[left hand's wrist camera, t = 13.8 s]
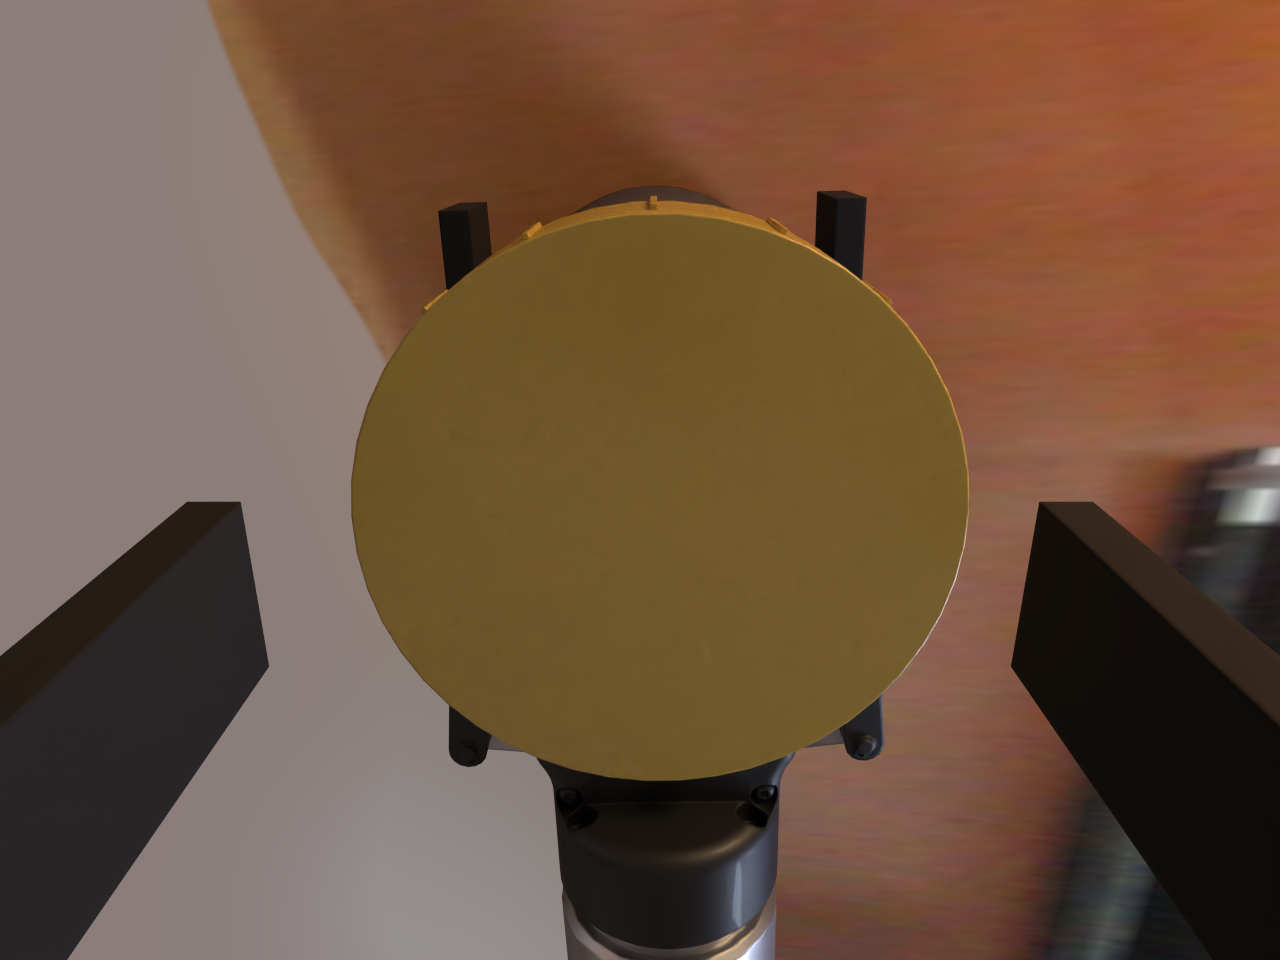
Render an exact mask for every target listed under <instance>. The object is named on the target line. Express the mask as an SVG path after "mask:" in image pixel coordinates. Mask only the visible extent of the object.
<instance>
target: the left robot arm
mask: <svg viewBox="0 0 1280 960" xmlns="http://www.w3.org/2000/svg"><path fill="white" fill-rule="evenodd" d="M268 667H269V663H268V658H267V652H266V646H265V640H264V634H263V629H262V623H261V617H260V611H259V606H258V600H257V594H256V588H255V583H254V577H253V571H252V565H251V559H250V553H249V548H248V542H247V536H246V530H245V524H244V519H243V513H242V507H241V502H186V503H185V504H184V505H183V506H182V507H180V508H179V509H178V510H177V511H176V512H174V513H173V514H172V515H171V516H169V517H168V518H167V519H166V520H165V521H163V522H162V523H161V524H160V525H159V526H157V527H156V528H155V529H154V530H153V531H151V532H150V533H149V534H148V535H146V536H145V537H144V538H143V539H142V540H140V541H139V542H138V543H137V544H136V545H134V546H133V547H132V548H131V549H130V550H128V551H127V552H126V553H125V554H123V555H122V556H121V557H120V558H119V559H117V560H116V561H115V562H114V563H113V564H111V565H110V566H109V567H108V568H107V569H105V570H104V571H103V572H102V573H101V574H99V575H98V576H97V577H96V578H94V579H93V580H92V581H91V582H90V583H88V584H87V585H86V586H85V587H84V588H82V589H81V590H80V591H79V592H77V593H76V594H75V595H74V596H73V597H71V598H70V599H69V600H68V601H67V602H65V603H64V604H63V605H62V606H61V607H59V608H58V609H57V610H56V611H54V612H53V613H52V614H51V615H50V616H48V617H47V618H46V619H45V620H44V621H42V622H41V623H40V624H39V625H37V626H36V627H35V628H34V629H33V630H31V631H30V632H29V633H28V634H27V635H25V636H24V637H23V638H22V639H21V640H19V641H18V642H17V643H16V644H15V645H13V646H12V647H11V648H10V649H8V650H7V651H6V652H5V653H4V654H2V655H1V656H0V960H67V959H68V958H69V956H70V955H71V953H72V952H73V950H74V949H75V947H76V946H77V945H78V943H79V942H80V940H81V939H82V937H83V936H84V934H85V933H86V931H87V930H88V929H89V927H90V926H91V924H92V923H93V921H94V920H95V918H96V917H97V915H98V914H99V913H100V911H101V910H102V908H103V907H104V905H105V904H106V902H107V901H108V899H109V898H110V897H111V895H112V894H113V892H114V891H115V889H116V888H117V886H118V885H119V884H120V882H121V881H122V879H123V878H124V876H125V875H126V873H127V872H128V870H129V869H130V868H131V866H132V865H133V863H134V862H135V860H136V859H137V857H138V856H139V855H140V853H141V852H142V850H143V849H144V847H145V846H146V844H147V843H148V841H149V840H150V839H151V837H152V836H153V834H154V833H155V831H156V830H157V828H158V827H159V825H160V824H161V823H162V821H163V820H164V818H165V817H166V815H167V814H168V812H169V811H170V809H171V808H172V807H173V805H174V804H175V802H176V801H177V799H178V798H179V796H180V795H181V794H182V792H183V791H184V789H185V788H186V786H187V785H188V783H189V782H190V780H191V779H192V778H193V776H194V775H195V773H196V772H197V770H198V769H199V767H200V766H201V764H202V763H203V762H204V760H205V759H206V757H207V756H208V754H209V753H210V751H211V750H212V749H213V747H214V746H215V744H216V743H217V741H218V740H219V738H220V737H221V735H222V734H223V733H224V731H225V730H226V728H227V727H228V725H229V724H230V722H231V721H232V720H233V718H234V717H235V715H236V714H237V712H238V711H239V709H240V708H241V706H242V705H243V704H244V702H245V701H246V699H247V698H248V696H249V695H250V693H251V692H252V690H253V689H254V688H255V686H256V685H257V683H258V682H259V680H260V679H261V677H262V676H263V674H264V673H265V672H266V670H267V669H268ZM1011 667H1012V669H1013V670H1014V672H1015V673H1016V675H1017V676H1018V677H1019V679H1020V680H1021V682H1022V683H1023V685H1024V686H1025V688H1026V689H1027V691H1028V692H1029V693H1030V695H1031V696H1032V698H1033V699H1034V701H1035V702H1036V704H1037V705H1038V706H1039V708H1040V709H1041V711H1042V712H1043V714H1044V715H1045V717H1046V718H1047V720H1048V721H1049V722H1050V724H1051V725H1052V727H1053V728H1054V730H1055V731H1056V733H1057V734H1058V735H1059V737H1060V738H1061V740H1062V741H1063V743H1064V744H1065V746H1066V747H1067V749H1068V750H1069V751H1070V753H1071V754H1072V756H1073V757H1074V759H1075V760H1076V762H1077V763H1078V765H1079V766H1080V767H1081V769H1082V770H1083V772H1084V773H1085V775H1086V776H1087V778H1088V779H1089V780H1090V782H1091V783H1092V785H1093V786H1094V788H1095V789H1096V791H1097V792H1098V794H1099V795H1100V796H1101V798H1102V799H1103V801H1104V802H1105V804H1106V805H1107V807H1108V808H1109V810H1110V811H1111V812H1112V814H1113V815H1114V817H1115V818H1116V820H1117V821H1118V823H1119V824H1120V825H1121V827H1122V828H1123V830H1124V831H1125V833H1126V834H1127V836H1128V837H1129V839H1130V840H1131V841H1132V843H1133V844H1134V846H1135V847H1136V849H1137V850H1138V852H1139V853H1140V855H1141V856H1142V857H1143V859H1144V860H1145V862H1146V863H1147V865H1148V866H1149V868H1150V869H1151V870H1152V872H1153V873H1154V875H1155V876H1156V878H1157V879H1158V881H1159V882H1160V884H1161V885H1162V886H1163V888H1164V889H1165V891H1166V892H1167V894H1168V895H1169V897H1170V898H1171V900H1172V901H1173V902H1174V904H1175V905H1176V907H1177V908H1178V910H1179V911H1180V913H1181V914H1182V915H1183V917H1184V918H1185V920H1186V921H1187V923H1188V924H1189V926H1190V927H1191V929H1192V930H1193V931H1194V933H1195V934H1196V936H1197V937H1198V939H1199V940H1200V942H1201V943H1202V945H1203V946H1204V947H1205V949H1206V950H1207V952H1208V953H1209V955H1210V956H1211V958H1212V959H1213V960H1280V656H1279V655H1278V654H1276V653H1275V652H1274V651H1273V650H1272V649H1270V648H1269V647H1268V646H1267V645H1266V644H1264V643H1263V642H1262V641H1261V640H1259V639H1258V638H1257V637H1256V636H1255V635H1253V634H1252V633H1251V632H1250V631H1249V630H1247V629H1246V628H1245V627H1244V626H1243V625H1241V624H1240V623H1239V622H1238V621H1236V620H1235V619H1234V618H1233V617H1232V616H1230V615H1229V614H1228V613H1227V612H1226V611H1224V610H1223V609H1222V608H1221V607H1220V606H1218V605H1217V604H1216V603H1215V602H1213V601H1212V600H1211V599H1210V598H1209V597H1207V596H1206V595H1205V594H1204V593H1203V592H1201V591H1200V590H1199V589H1198V588H1197V587H1195V586H1194V585H1193V584H1192V583H1190V582H1189V581H1188V580H1187V579H1186V578H1184V577H1183V576H1182V575H1181V574H1180V573H1178V572H1177V571H1176V570H1175V569H1173V568H1172V567H1171V566H1170V565H1169V564H1167V563H1166V562H1165V561H1164V560H1163V559H1161V558H1160V557H1159V556H1158V555H1157V554H1155V553H1154V552H1153V551H1152V550H1150V549H1149V548H1148V547H1147V546H1146V545H1144V544H1143V543H1142V542H1141V541H1140V540H1138V539H1137V538H1136V537H1135V536H1134V535H1132V534H1131V533H1130V532H1129V531H1127V530H1126V529H1125V528H1124V527H1123V526H1121V525H1120V524H1119V523H1118V522H1117V521H1115V520H1114V519H1113V518H1112V517H1111V516H1109V515H1108V514H1107V513H1106V512H1104V511H1103V510H1102V509H1101V508H1100V507H1098V506H1097V505H1096V504H1095V503H1094V502H1039V507H1038V513H1037V519H1036V524H1035V530H1034V536H1033V542H1032V548H1031V553H1030V559H1029V565H1028V571H1027V577H1026V582H1025V588H1024V594H1023V600H1022V605H1021V611H1020V617H1019V623H1018V629H1017V634H1016V640H1015V646H1014V652H1013V658H1012V663H1011Z"/></svg>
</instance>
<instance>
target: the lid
mask: <svg viewBox="0 0 1280 960" xmlns="http://www.w3.org/2000/svg"><path fill="white" fill-rule="evenodd" d="M892 303H893V302H892V301H891V300H890V299H889V298H888V297H886V296H885V295H884V294H882V293H881V292H879V291H878V290H877V289H875V288H874V287H872V286H871V285H870V284H868V283H867V282H865V281H864V282H863V281H862V280H860V279H859V278H858V277H856V276H855V275H854V274H853V273H851V272H850V271H849V270H848V269H846V268H845V267H844V266H842V265H841V264H839V263H838V262H837V261H835V260H834V259H832V258H831V257H830V256H828V255H827V254H825V253H824V252H823V251H821V250H820V249H818V248H817V247H815V246H813V245H811V244H810V243H808V242H806V241H805V240H803V239H801V238H800V237H798V236H796V235H794V234H793V233H791V232H789V231H788V229H787V228H785V227H784V226H783V225H781V224H780V223H779V222H777V221H776V220H775V219H773V218H771V217H768V218H767V220H766V221H764V220H761V219H759V218H756V217H754V216H752V215H748V214H745V213H741V212H737V211H733V210H729V209H725V208H721V207H717V206H713V205H706V204H697V203H689V202H680V201H657V196H650V201H637V202H628V203H622V204H615V205H609V206H603V207H597V208H593V209H589V210H586V211H583V212H579V213H576V214H573V215H570V216H566V217H563V218H560V219H557V220H555V221H552V222H550V223H548V224H546V225H544V226H542V225H541V223H540V222H538V223H535V224H534V225H533V226H531V227H530V228H529V229H528V230H527V231H525V232H524V233H523V234H522V235H521V237H519V238H518V239H516V240H514V241H513V242H511V243H510V244H508V245H507V246H505V247H504V248H502V249H500V250H499V251H497V252H496V253H494V254H493V255H491V256H490V257H488V258H487V259H486V260H485V261H483V262H482V263H481V264H480V265H478V266H477V267H476V268H475V269H473V270H472V271H471V272H470V273H468V274H467V275H466V276H465V277H463V278H462V279H461V280H460V281H459V282H458V283H456V284H455V285H454V286H453V287H452V288H451V289H449V290H445V291H444V292H443V293H442V294H440V295H439V296H438V297H437V298H435V299H434V300H433V301H431V302H430V303H429V304H428V305H426V306H425V307H424V308H423V309H422V310H421V311H420V312H421V313H422V314H423V316H422V317H421V318H420V319H419V320H418V322H417V323H416V324H415V325H414V326H413V327H412V328H411V330H410V331H409V332H408V333H407V334H406V335H405V337H404V339H403V340H402V342H401V343H400V345H399V346H398V348H397V349H396V351H395V353H394V354H393V356H392V357H391V359H390V360H389V362H388V363H387V365H386V366H385V368H384V370H383V372H382V374H381V376H380V379H379V381H378V383H377V385H376V387H375V390H374V392H373V394H372V396H371V398H370V401H369V403H368V405H367V408H366V412H365V415H364V419H363V422H362V425H361V429H360V432H359V436H358V439H357V443H356V450H355V457H354V465H353V472H352V479H351V495H352V498H351V499H352V523H353V530H354V537H355V543H356V550H357V555H358V558H359V562H360V565H361V569H362V572H363V576H364V579H365V582H366V586H367V589H368V591H369V594H370V596H371V598H372V600H373V602H374V605H375V607H376V609H377V611H378V614H379V616H380V618H381V620H382V622H383V624H384V626H385V627H386V629H387V631H388V632H389V634H390V635H391V637H392V639H393V640H394V642H395V644H396V645H397V647H398V648H399V650H400V652H401V653H402V654H403V656H404V657H405V658H406V659H407V660H408V662H409V663H410V664H411V665H412V667H413V668H414V669H415V670H416V672H417V673H418V674H419V675H420V677H421V678H422V679H423V680H424V681H425V682H426V683H427V684H428V685H429V686H430V687H431V688H432V689H433V690H434V691H435V692H436V693H437V694H438V695H439V696H440V697H441V698H442V699H443V700H444V701H445V702H447V703H448V704H449V705H450V706H451V707H452V708H454V709H455V710H456V711H458V712H459V713H460V714H462V715H463V716H464V717H466V718H467V719H468V720H470V721H471V722H472V723H473V724H475V725H476V726H477V727H479V728H481V729H483V730H484V731H486V732H488V733H489V734H491V735H493V736H494V737H496V738H498V739H499V740H501V741H503V742H504V743H506V744H508V745H510V746H512V747H515V748H517V749H519V750H521V751H523V752H526V753H528V754H530V755H532V756H535V757H537V758H539V759H542V760H545V761H548V762H551V763H554V764H557V765H560V766H563V767H566V768H570V769H573V770H577V771H581V772H586V773H591V774H596V775H601V776H606V777H612V778H622V779H633V780H643V781H662V780H688V779H696V778H705V777H713V776H719V775H723V774H728V773H732V772H737V771H741V770H745V769H750V768H753V767H756V766H759V765H762V764H765V763H768V762H771V761H773V760H776V759H779V758H782V757H785V756H787V755H789V754H791V753H794V752H796V751H798V750H800V749H802V748H804V747H806V746H808V745H810V744H812V743H815V742H817V741H818V740H820V739H822V738H823V737H825V736H827V735H828V734H830V733H831V732H833V731H835V730H836V729H838V728H839V727H841V726H843V725H844V724H846V723H847V722H849V721H850V720H851V719H853V718H854V717H855V716H856V715H858V714H859V713H860V712H861V711H863V710H864V709H865V708H866V707H868V706H869V705H870V704H871V703H873V702H874V701H875V700H876V699H877V698H878V697H879V696H880V695H881V694H882V693H883V692H884V691H885V690H886V689H887V688H888V687H889V686H890V685H891V684H892V683H893V682H894V681H895V680H896V679H897V678H898V677H899V676H900V675H901V674H902V673H903V671H904V670H905V669H906V668H907V666H908V665H909V664H910V662H911V661H912V660H913V658H914V657H915V656H916V654H917V653H918V652H919V651H920V649H921V648H922V647H923V645H924V644H925V642H926V640H927V638H928V637H929V635H930V633H931V632H932V630H933V628H934V626H935V625H936V623H937V621H938V620H939V618H940V616H941V614H942V612H943V610H944V607H945V605H946V602H947V600H948V598H949V595H950V593H951V590H952V588H953V586H954V583H955V581H956V577H957V573H958V569H959V566H960V562H961V558H962V554H963V550H964V547H965V541H966V532H967V524H968V515H969V470H968V464H967V458H966V453H965V447H964V441H963V435H962V431H961V428H960V424H959V421H958V418H957V415H956V412H955V409H954V406H953V403H952V400H951V397H950V394H949V392H948V390H947V388H946V386H945V384H944V382H943V380H942V378H941V376H940V374H939V372H938V370H937V368H936V366H935V364H934V362H933V360H932V359H931V357H930V356H929V354H928V353H927V351H926V350H925V349H924V347H923V346H922V344H921V343H920V341H919V340H918V339H917V337H916V336H915V334H914V333H913V331H912V330H911V329H910V327H909V326H908V324H907V323H906V322H905V321H904V320H903V319H902V318H901V317H900V316H899V315H898V314H897V313H896V312H895V311H894V310H893V309H892V308H891V306H890V305H891V304H892Z"/></svg>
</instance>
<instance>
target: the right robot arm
mask: <svg viewBox="0 0 1280 960" xmlns="http://www.w3.org/2000/svg"><path fill="white" fill-rule="evenodd" d="M866 202H867V198H866V197H863V196H860V195H857V194H854V193H851V192H847V191H818V192H817V211H816V237H815V247H817V248H818V249H820V250H821V251H823V252H824V253H825V254H827V255H828V256H830V257H831V258H832V259H834V260H835V261H837V262H838V263H839V264H841V265H842V266H844V267H845V268H846V269H848V270H849V271H850V272H851V273H853V274H854V275H855V276H856V277H858V278H859V279H860V280H862V272H863V255H864V237H865V220H866ZM438 213H439V222H440V232H441V241H442V250H443V260H444V269H445V278H446V287H447V290H449V289H451V288H452V287H453V286H454V285H455V284H456V283H458V282H459V281H460V280H461V279H462V278H463V277H465V276H466V275H467V274H468V273H470V272H471V271H472V270H473V269H475V268H476V267H477V266H478V265H480V264H481V263H482V262H483V261H485V260H486V259H487V258H488V257H490V256H491V244H490V232H489V221H488V210H487V202H472V203H458V204H456V205H453V206H450V207H448V208H445V209H443V210H440V211H438ZM882 694H883V693H882ZM882 694H881V695H880V696H879V697H878V698H877V699H876V700H875V701H874V702H873V703H871V704H870V705H869V706H868V707H866V708H865V709H864V710H863V711H861V712H860V713H859V714H858V715H856V716H855V717H854V718H853V719H851V720H850V721H849V722H847V723H846V724H844V725H843V726H841V727H839V728H838V729H836V730H835V731H833V732H831V733H830V734H828V735H827V736H825V737H823V738H822V739H820V740H818V741H817V742H815V743H812V744H810V745H808V746H806V747H804V748H807V747H815V746H824V745H833V744H842V743H844V744H845V747H846V750H847V753H848V754H849V755H850V756H851V757H852V758H855V759H857V760H869V759H873V758H874V757H876V756H877V755H879V754H880V752H881V751H882V749H883V746H884V733H883V717H882V700H881V697H882ZM488 749H493V750H506V751H520V752H523V751H521V750H519V749H517V748H515V747H512V746H510V745H508V744H506V743H504V742H503V741H501V740H499V739H498V738H496V737H494V736H493V735H491V734H489V733H488V732H486V731H484V730H483V729H481V728H479V727H477V726H476V725H475V724H473V723H472V722H471V721H470V720H468V719H467V718H466V717H464V716H463V715H462V714H460V713H459V712H458V711H456V710H455V709H454V708H452V707H451V706H450V705H449V753H450V756H451V758H452V759H453V760H454V761H455V762H456V763H458V764H459V765H462V766H466V767H472V766H476V765H479V764H481V763H482V762H483V761H484V760H485V758H486V754H487V751H488ZM794 754H795V752H794V753H791V754H789V755H787V756H785V757H782V758H779V759H776V760H773V761H771V762H768V763H765V764H762V765H759V766H756V767H753V768H750V769H745V770H741V771H737V772H732V773H728V774H723V775H719V776H713V777H705V778H696V779H688V780H662V781H643V780H633V779H622V778H612V777H606V776H601V775H596V774H591V773H586V772H581V771H577V770H573V769H570V768H566V767H563V766H560V765H557V764H554V763H551V762H548V761H545V760H542V759H539V758H537V757H536V758H537V760H538V761H539V763H540V764H541V765H542V767H543V768H544V769H545V770H546V772H547V773H548V775H549V777H550V779H551V781H552V784H553V789H554V800H555V812H556V825H557V837H558V849H559V862H560V873H561V880H562V883H563V893H562V902H563V912H564V923H565V933H566V943H567V953H568V960H775V930H776V883H775V880H776V875H777V854H778V821H779V788H780V780H781V776H782V774H783V772H784V770H785V768H786V766H787V765H788V764H789V762H790V761H791V759H792V758H793V756H794Z"/></svg>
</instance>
